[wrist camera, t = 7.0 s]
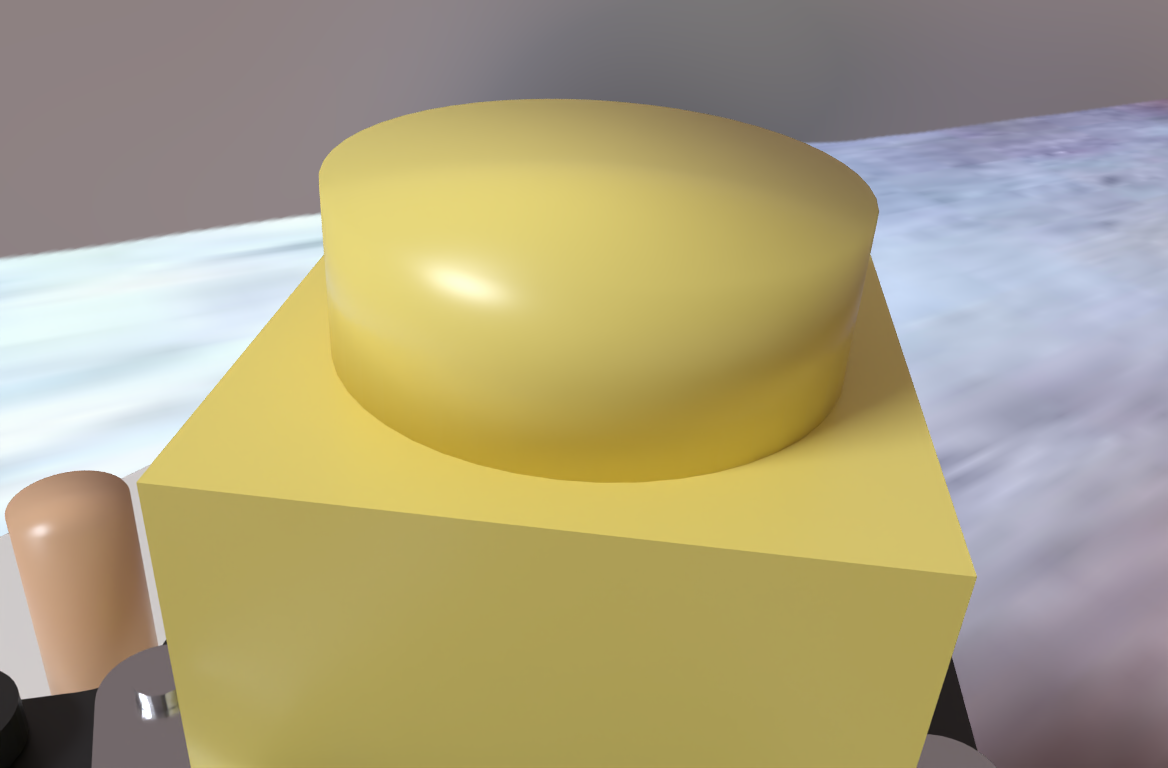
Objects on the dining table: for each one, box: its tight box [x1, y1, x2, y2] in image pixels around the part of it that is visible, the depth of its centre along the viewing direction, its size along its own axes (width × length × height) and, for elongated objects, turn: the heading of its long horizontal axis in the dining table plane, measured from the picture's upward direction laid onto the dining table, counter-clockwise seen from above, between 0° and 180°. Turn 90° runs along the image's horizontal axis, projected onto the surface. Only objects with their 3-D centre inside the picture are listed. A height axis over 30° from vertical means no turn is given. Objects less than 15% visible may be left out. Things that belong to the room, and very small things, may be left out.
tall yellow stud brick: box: [136, 99, 977, 768], centre depth 12 cm, size 6×6×13 cm
